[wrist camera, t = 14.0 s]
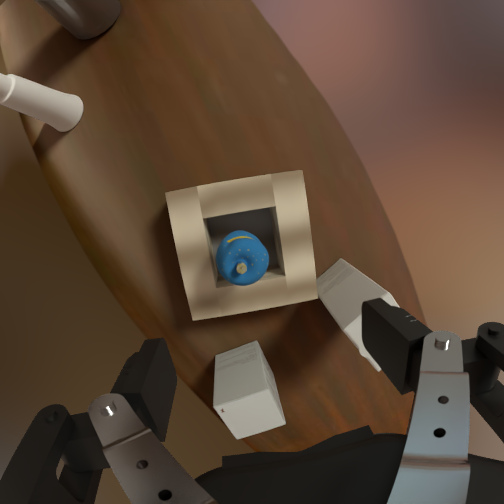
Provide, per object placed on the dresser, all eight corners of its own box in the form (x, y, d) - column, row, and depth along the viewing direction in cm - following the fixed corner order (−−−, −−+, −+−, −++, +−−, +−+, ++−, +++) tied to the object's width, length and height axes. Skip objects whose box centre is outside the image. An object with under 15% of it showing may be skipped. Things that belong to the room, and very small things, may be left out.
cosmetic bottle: (88, 116, 35) (-7, 74, 14) (59, 139, 35) (-42, 119, 14) (76, 87, 34) (-11, 38, 12) (48, 111, 34) (-46, 79, 13)
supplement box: (232, 387, 46) (235, 441, 34) (214, 354, 44) (210, 406, 32) (274, 373, 46) (287, 425, 34) (258, 338, 44) (268, 388, 32)
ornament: (262, 224, 40) (278, 246, 26) (254, 261, 41) (265, 301, 27) (224, 217, 40) (219, 234, 25) (217, 254, 41) (208, 291, 26)
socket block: (175, 192, 39) (165, 192, 33) (291, 172, 39) (302, 169, 33) (197, 302, 42) (192, 320, 36) (306, 283, 43) (317, 298, 37)
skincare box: (367, 293, 44) (421, 337, 29) (336, 321, 45) (378, 375, 29) (339, 255, 42) (391, 289, 27) (305, 284, 43) (343, 333, 28)
